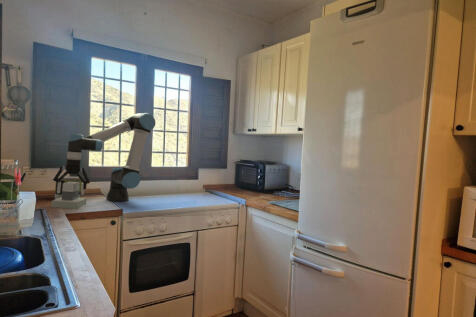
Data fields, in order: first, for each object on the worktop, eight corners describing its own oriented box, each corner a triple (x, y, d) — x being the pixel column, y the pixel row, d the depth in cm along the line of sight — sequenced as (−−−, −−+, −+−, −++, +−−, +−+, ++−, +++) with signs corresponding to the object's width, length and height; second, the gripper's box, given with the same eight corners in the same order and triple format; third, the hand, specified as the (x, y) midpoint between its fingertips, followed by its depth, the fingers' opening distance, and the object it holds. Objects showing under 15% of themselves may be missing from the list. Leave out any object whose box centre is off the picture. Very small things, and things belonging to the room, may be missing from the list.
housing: (72, 200, 179) (73, 184, 179) (61, 200, 178) (63, 183, 178) (79, 197, 191) (81, 182, 191) (69, 197, 190) (70, 181, 190)
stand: (86, 204, 192) (86, 197, 192) (77, 208, 177) (77, 202, 177) (62, 202, 190) (63, 196, 190) (51, 207, 174) (51, 200, 174)
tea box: (78, 197, 214) (80, 176, 214) (80, 199, 205) (82, 178, 205) (54, 197, 205) (56, 175, 205) (54, 199, 197) (56, 177, 197)
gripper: (97, 160, 189) (94, 194, 189) (54, 157, 185) (51, 191, 185) (93, 161, 182) (90, 196, 182) (48, 157, 177) (45, 193, 178)
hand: (70, 193), depth 183 cm, fingers open, 13 cm apart
